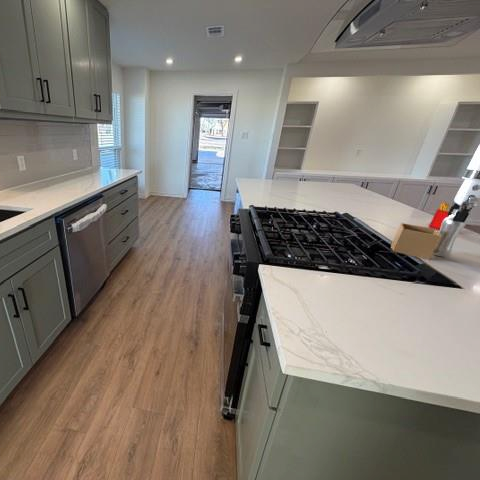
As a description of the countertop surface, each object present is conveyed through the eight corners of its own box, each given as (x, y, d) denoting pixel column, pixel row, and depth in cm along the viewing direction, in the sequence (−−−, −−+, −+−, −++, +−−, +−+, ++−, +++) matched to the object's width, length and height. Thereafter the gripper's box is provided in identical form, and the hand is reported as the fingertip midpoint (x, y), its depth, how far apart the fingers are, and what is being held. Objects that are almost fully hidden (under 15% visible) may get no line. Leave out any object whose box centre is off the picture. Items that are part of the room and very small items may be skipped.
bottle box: (423, 254, 109) (436, 229, 104) (427, 262, 101) (441, 236, 97) (390, 246, 115) (400, 222, 110) (391, 254, 108) (402, 228, 103)
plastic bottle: (425, 254, 109) (448, 209, 101) (427, 250, 113) (449, 206, 105) (447, 259, 104) (472, 213, 96) (448, 255, 108) (472, 210, 100)
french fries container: (430, 225, 146) (442, 201, 140) (453, 230, 139) (466, 205, 133) (428, 227, 142) (440, 203, 136) (451, 232, 135) (465, 207, 130)
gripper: (502, 180, 87) (474, 226, 94) (486, 174, 99) (463, 216, 106) (470, 177, 91) (446, 221, 98) (458, 172, 104) (438, 212, 111)
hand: (455, 218), depth 102 cm, fingers open, 9 cm apart
